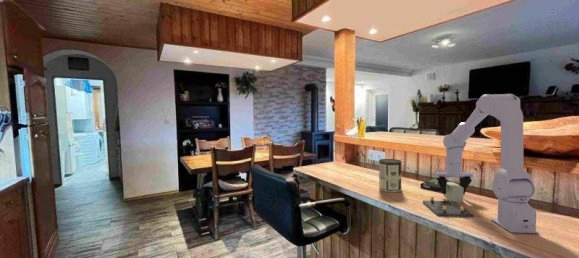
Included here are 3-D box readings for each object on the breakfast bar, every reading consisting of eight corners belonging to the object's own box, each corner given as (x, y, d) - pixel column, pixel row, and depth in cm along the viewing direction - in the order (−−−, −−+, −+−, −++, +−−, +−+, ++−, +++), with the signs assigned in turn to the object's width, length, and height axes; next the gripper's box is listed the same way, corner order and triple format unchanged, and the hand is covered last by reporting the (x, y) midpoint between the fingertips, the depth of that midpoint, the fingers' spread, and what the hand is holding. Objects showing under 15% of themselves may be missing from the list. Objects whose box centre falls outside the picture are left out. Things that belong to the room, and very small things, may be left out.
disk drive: (443, 194, 116) (455, 187, 126) (443, 188, 116) (455, 181, 125) (420, 189, 125) (433, 182, 134) (420, 183, 124) (433, 177, 134)
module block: (453, 195, 113) (453, 182, 113) (463, 201, 105) (463, 187, 105) (443, 195, 113) (443, 182, 113) (453, 201, 106) (453, 187, 105)
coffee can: (390, 184, 130) (390, 157, 129) (406, 190, 121) (406, 161, 120) (374, 187, 127) (374, 159, 126) (389, 193, 117) (389, 163, 116)
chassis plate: (473, 216, 90) (473, 208, 90) (437, 215, 92) (437, 207, 91) (453, 203, 103) (453, 196, 103) (422, 202, 104) (422, 195, 104)
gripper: (466, 160, 111) (465, 191, 112) (431, 160, 113) (431, 190, 114) (476, 164, 104) (475, 196, 105) (439, 164, 106) (438, 195, 107)
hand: (453, 193), depth 109 cm, fingers open, 7 cm apart
